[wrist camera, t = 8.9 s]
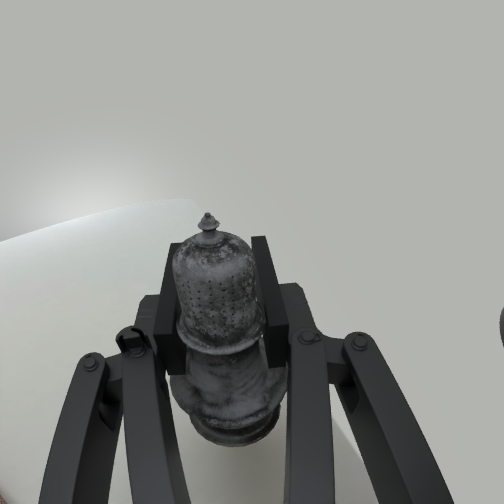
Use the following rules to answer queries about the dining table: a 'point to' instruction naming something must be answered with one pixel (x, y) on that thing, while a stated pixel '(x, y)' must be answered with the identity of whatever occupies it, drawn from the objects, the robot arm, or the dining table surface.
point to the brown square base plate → (2, 501)
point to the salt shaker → (223, 341)
